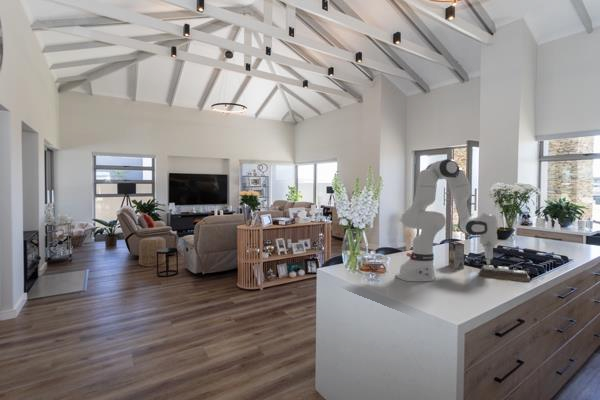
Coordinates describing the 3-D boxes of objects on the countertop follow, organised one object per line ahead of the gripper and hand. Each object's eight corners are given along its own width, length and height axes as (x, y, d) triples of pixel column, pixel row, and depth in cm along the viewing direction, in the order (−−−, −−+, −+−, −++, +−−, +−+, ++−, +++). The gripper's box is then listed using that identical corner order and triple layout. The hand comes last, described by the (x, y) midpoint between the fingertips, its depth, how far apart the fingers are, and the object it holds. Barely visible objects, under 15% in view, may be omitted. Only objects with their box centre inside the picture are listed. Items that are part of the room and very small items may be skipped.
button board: (530, 282, 167) (530, 274, 167) (479, 276, 180) (479, 269, 180) (527, 277, 176) (527, 270, 176) (479, 272, 188) (479, 265, 188)
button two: (525, 276, 171) (525, 272, 170) (514, 274, 173) (514, 271, 173) (523, 273, 175) (524, 270, 175) (513, 272, 177) (513, 269, 177)
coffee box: (448, 265, 206) (448, 241, 206) (457, 265, 206) (457, 241, 206) (454, 268, 197) (454, 244, 197) (464, 268, 197) (464, 244, 197)
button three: (493, 270, 178) (493, 267, 178) (483, 269, 181) (483, 266, 181) (493, 268, 182) (493, 265, 182) (483, 267, 185) (483, 264, 185)
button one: (508, 272, 174) (508, 268, 174) (498, 271, 177) (498, 267, 177) (508, 270, 179) (508, 266, 179) (498, 269, 181) (498, 265, 181)
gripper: (495, 243, 171) (495, 268, 171) (493, 238, 188) (493, 260, 189) (482, 243, 174) (482, 266, 174) (482, 237, 192) (482, 259, 192)
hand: (488, 263), depth 182 cm, fingers closed
